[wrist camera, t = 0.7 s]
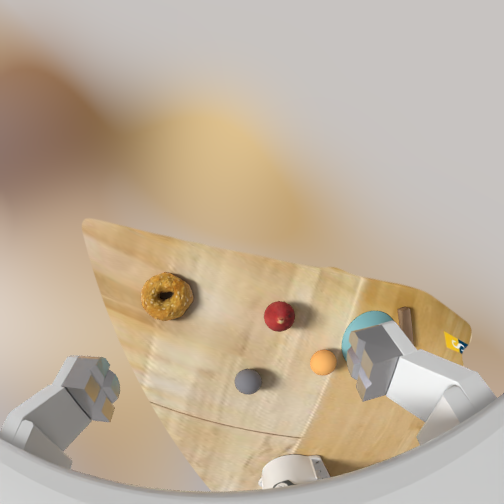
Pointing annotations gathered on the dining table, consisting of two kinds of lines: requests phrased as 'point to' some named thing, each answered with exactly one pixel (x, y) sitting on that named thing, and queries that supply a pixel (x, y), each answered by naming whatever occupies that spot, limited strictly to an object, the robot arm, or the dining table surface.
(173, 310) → the bagel
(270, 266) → the dining table surface
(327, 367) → the orange ball
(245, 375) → the grey rubber ball
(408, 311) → the wall
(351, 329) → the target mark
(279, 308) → the onion
